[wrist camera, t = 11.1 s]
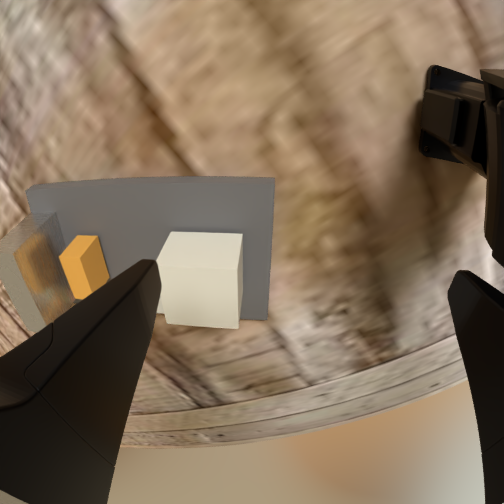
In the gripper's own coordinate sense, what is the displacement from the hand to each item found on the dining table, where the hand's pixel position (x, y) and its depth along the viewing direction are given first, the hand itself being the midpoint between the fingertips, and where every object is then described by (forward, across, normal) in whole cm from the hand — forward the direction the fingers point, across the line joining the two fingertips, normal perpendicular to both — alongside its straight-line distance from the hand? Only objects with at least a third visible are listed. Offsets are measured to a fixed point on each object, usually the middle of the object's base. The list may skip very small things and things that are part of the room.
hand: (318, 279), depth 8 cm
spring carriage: (+12, +6, +8) cm, 15 cm away
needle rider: (+12, +15, +10) cm, 21 cm away
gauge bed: (+13, +11, +8) cm, 19 cm away
